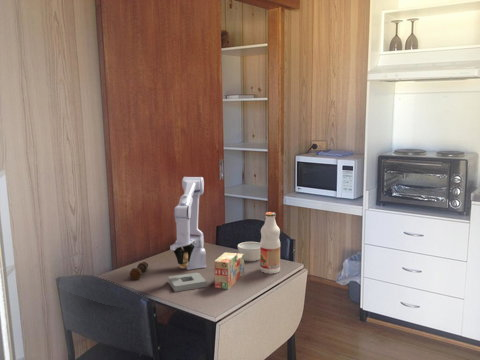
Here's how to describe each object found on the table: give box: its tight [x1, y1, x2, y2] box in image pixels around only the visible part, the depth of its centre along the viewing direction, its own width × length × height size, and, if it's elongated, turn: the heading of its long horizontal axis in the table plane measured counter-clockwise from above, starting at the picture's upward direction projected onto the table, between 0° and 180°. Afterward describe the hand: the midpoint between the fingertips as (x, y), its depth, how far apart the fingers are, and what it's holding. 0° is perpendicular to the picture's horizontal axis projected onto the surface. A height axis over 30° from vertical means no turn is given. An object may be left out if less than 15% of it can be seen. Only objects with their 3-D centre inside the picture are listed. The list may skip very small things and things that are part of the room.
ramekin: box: [237, 241, 260, 262], centre depth 225 cm, size 13×13×7 cm
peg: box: [179, 252, 188, 269], centre depth 191 cm, size 4×4×6 cm
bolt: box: [128, 261, 149, 281], centre depth 203 cm, size 6×5×15 cm
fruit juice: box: [259, 211, 281, 275], centre depth 204 cm, size 9×9×28 cm
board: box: [167, 272, 208, 293], centre depth 190 cm, size 14×12×2 cm
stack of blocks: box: [214, 252, 245, 290], centre depth 194 cm, size 21×6×12 cm, turn 161°
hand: (183, 262), depth 191 cm, fingers closed on peg, 4 cm apart
